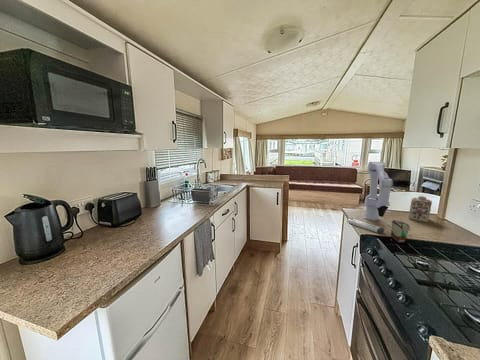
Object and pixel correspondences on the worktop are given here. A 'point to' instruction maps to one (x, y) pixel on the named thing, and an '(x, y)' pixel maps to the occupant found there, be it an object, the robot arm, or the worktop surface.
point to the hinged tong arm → (369, 225)
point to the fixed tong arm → (364, 226)
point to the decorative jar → (420, 209)
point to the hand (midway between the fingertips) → (380, 216)
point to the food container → (399, 230)
